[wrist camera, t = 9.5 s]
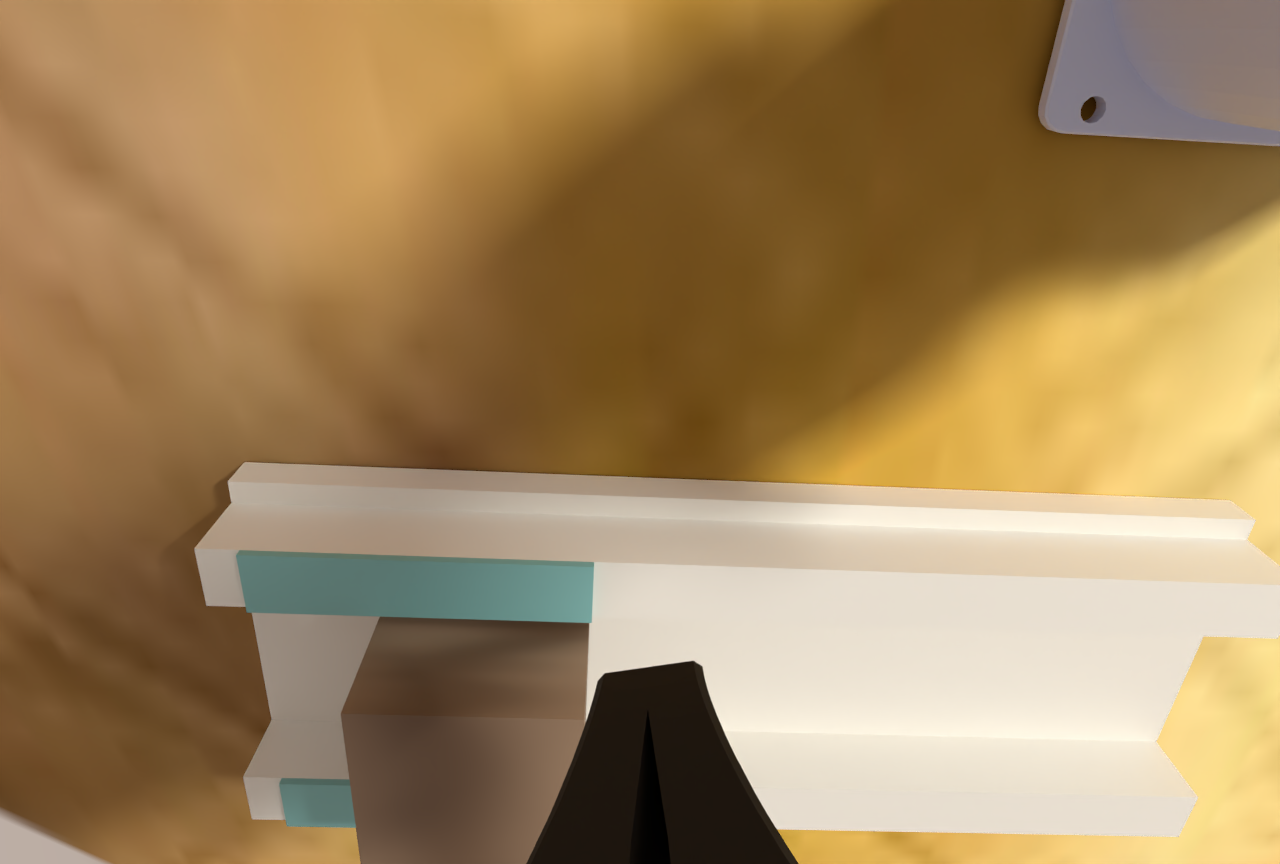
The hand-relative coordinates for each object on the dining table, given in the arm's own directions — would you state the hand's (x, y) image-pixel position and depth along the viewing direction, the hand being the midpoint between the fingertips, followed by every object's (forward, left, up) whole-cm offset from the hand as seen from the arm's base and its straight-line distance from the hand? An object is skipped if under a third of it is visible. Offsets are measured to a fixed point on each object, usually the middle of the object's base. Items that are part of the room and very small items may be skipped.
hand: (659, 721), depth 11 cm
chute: (-3, +7, -10) cm, 13 cm away
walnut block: (+4, +7, -9) cm, 12 cm away
